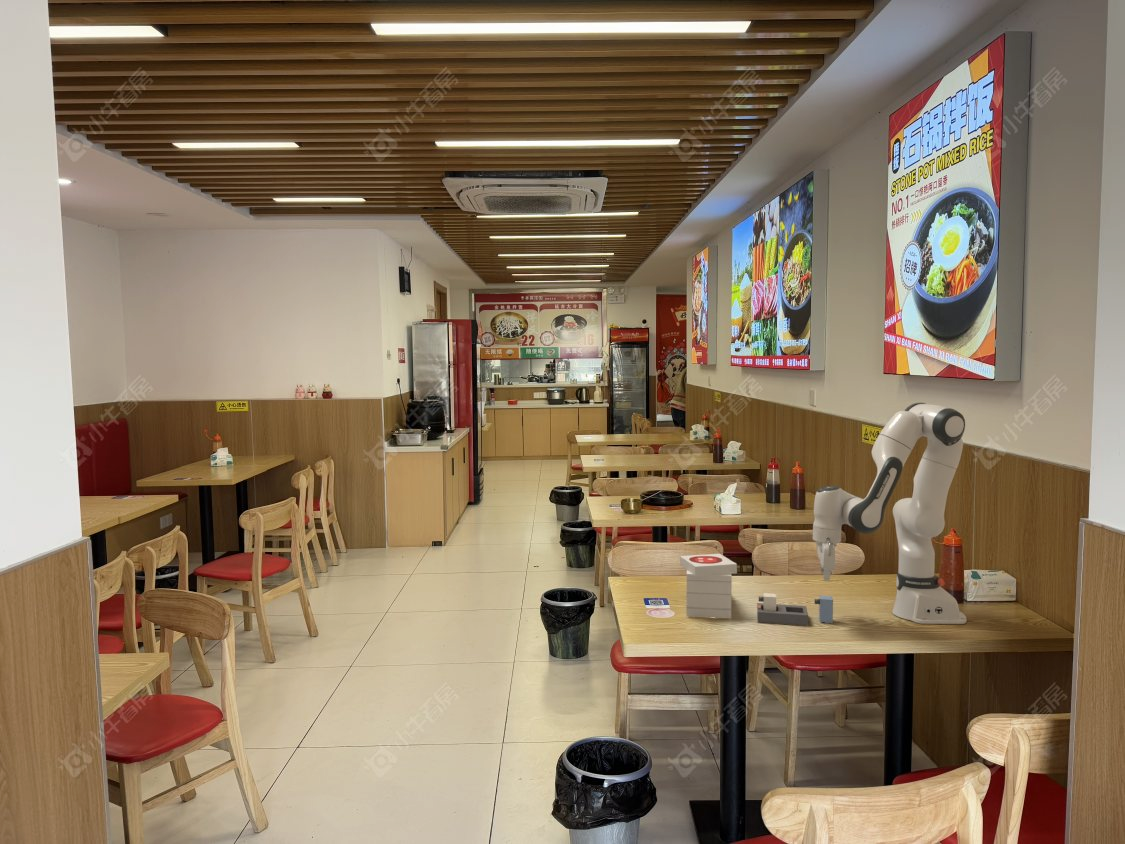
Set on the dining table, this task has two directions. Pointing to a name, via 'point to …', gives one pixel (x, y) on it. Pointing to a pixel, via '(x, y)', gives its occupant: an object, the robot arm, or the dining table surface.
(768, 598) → the white plug
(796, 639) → the dining table surface
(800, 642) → the dining table surface
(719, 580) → the stack of pizza boxes
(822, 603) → the blue plug
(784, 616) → the grey socket tray
